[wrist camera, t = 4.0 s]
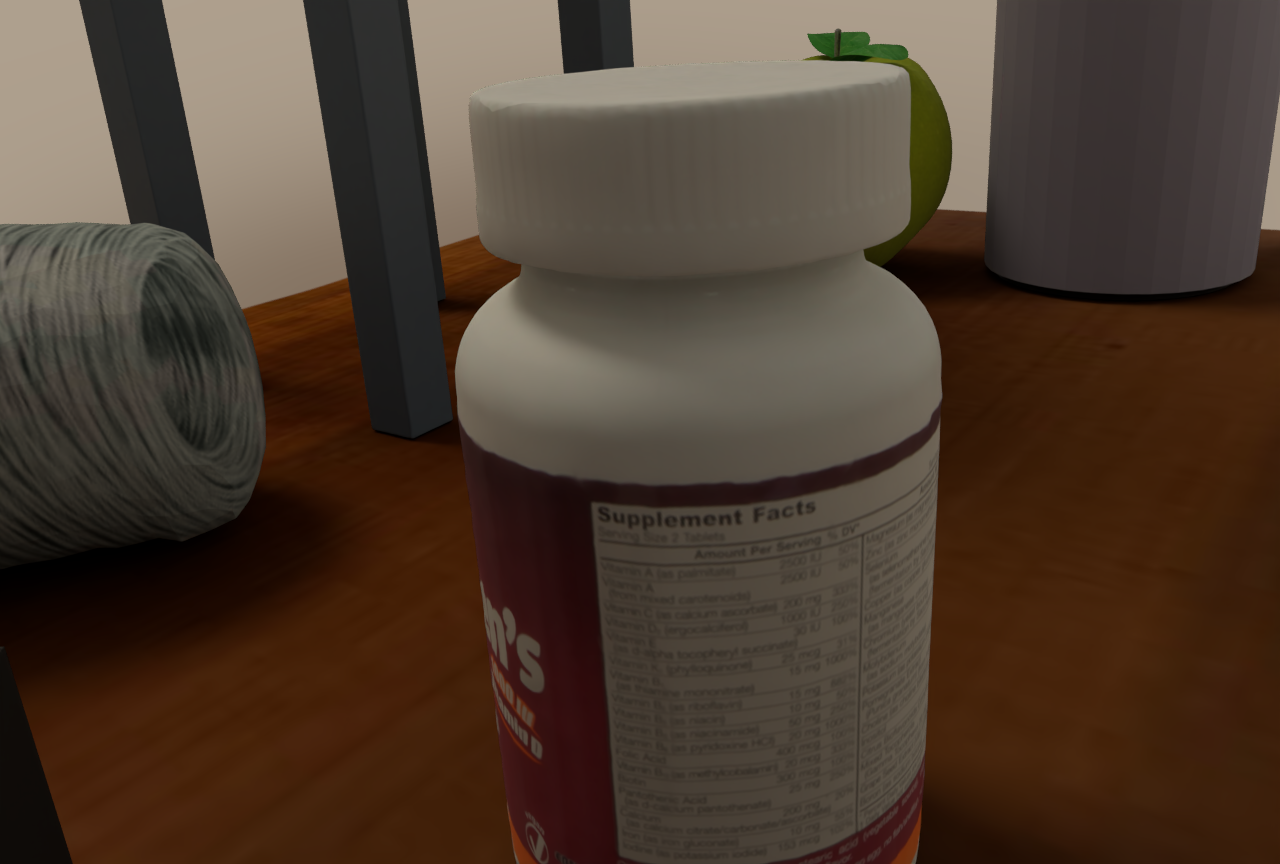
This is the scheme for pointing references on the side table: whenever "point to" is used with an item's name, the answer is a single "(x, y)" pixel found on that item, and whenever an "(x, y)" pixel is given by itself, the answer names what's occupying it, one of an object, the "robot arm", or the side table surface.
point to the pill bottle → (703, 464)
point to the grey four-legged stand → (332, 166)
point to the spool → (120, 390)
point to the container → (1130, 144)
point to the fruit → (925, 130)
